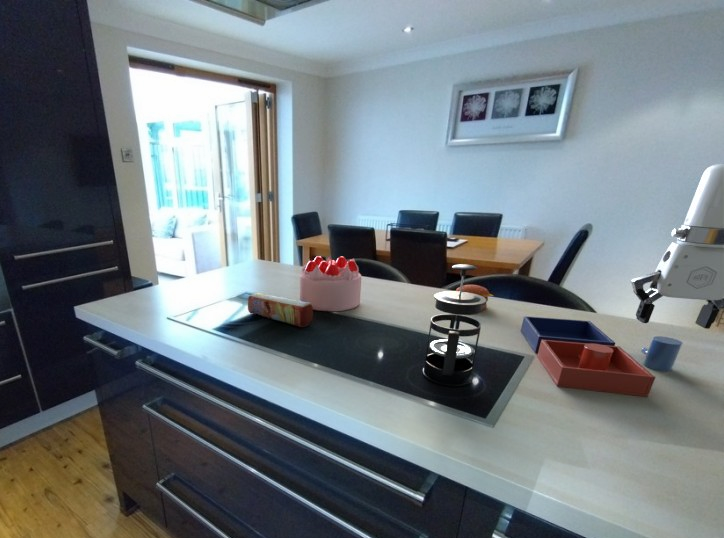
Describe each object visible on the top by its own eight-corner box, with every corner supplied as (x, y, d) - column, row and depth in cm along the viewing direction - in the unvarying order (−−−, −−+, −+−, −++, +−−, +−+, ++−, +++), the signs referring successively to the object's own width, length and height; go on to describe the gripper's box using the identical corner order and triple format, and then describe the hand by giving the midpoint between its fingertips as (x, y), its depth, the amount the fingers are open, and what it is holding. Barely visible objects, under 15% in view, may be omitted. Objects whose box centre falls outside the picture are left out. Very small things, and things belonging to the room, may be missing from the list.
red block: (607, 381, 75) (617, 353, 73) (580, 378, 76) (589, 351, 74) (590, 362, 83) (598, 336, 80) (566, 360, 84) (573, 334, 82)
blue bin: (585, 336, 97) (589, 320, 96) (609, 360, 85) (615, 343, 83) (520, 330, 101) (523, 316, 100) (534, 352, 89) (539, 336, 88)
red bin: (613, 363, 83) (619, 346, 82) (647, 397, 71) (655, 377, 69) (537, 356, 88) (541, 339, 86) (556, 386, 75) (562, 367, 74)
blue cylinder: (676, 372, 79) (687, 345, 77) (649, 369, 80) (659, 343, 78) (653, 355, 86) (663, 330, 84) (629, 353, 88) (638, 328, 86)
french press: (425, 361, 86) (439, 258, 77) (471, 369, 83) (492, 261, 74) (419, 386, 77) (434, 270, 68) (471, 395, 73) (495, 274, 64)
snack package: (245, 314, 119) (244, 293, 116) (260, 309, 123) (260, 288, 121) (300, 330, 106) (300, 306, 103) (314, 323, 110) (315, 300, 108)
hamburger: (492, 306, 120) (497, 286, 117) (475, 313, 115) (479, 291, 113) (464, 299, 127) (467, 280, 125) (446, 305, 122) (449, 285, 120)
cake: (370, 300, 129) (374, 257, 123) (337, 316, 115) (339, 269, 110) (322, 291, 141) (322, 251, 135) (287, 304, 127) (286, 261, 122)
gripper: (660, 237, 71) (627, 325, 77) (787, 241, 66) (741, 335, 72) (639, 232, 77) (611, 313, 84) (753, 235, 72) (714, 322, 79)
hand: (671, 323), depth 78 cm, fingers open, 9 cm apart
